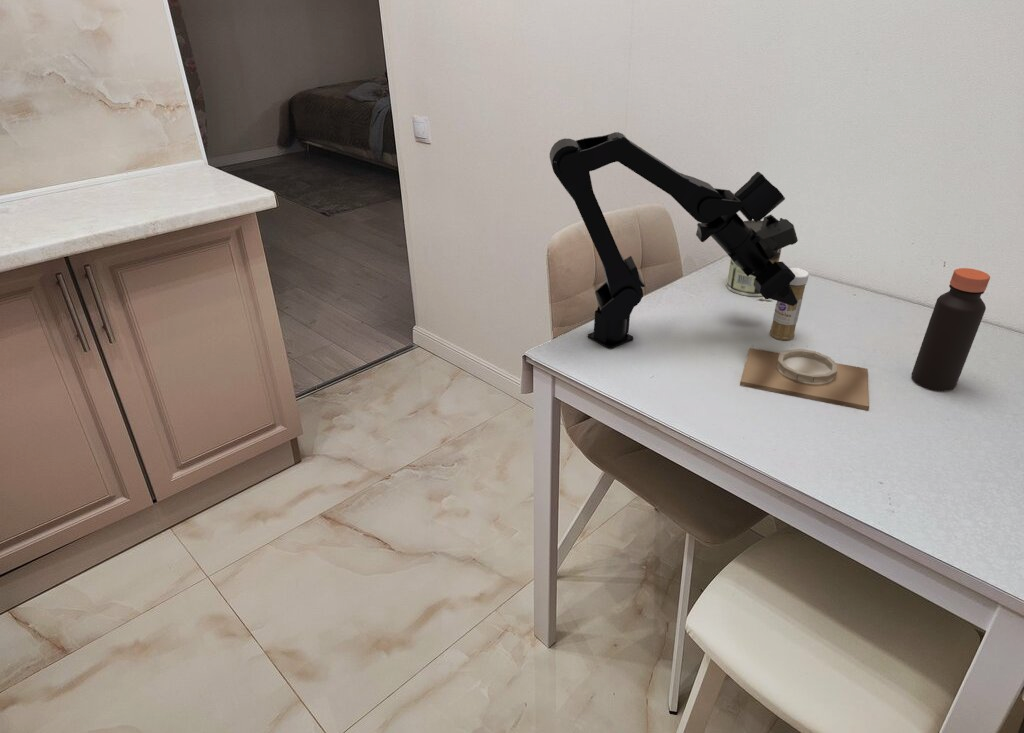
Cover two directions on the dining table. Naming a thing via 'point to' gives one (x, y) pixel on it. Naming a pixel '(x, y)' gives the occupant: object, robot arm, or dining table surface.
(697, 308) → the dining table surface
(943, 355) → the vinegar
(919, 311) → the dining table surface
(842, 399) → the dish board
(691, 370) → the dining table surface
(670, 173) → the robot arm
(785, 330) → the sprinkles bottle
